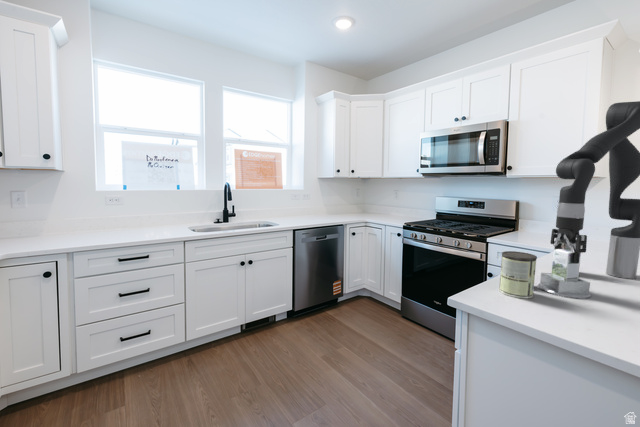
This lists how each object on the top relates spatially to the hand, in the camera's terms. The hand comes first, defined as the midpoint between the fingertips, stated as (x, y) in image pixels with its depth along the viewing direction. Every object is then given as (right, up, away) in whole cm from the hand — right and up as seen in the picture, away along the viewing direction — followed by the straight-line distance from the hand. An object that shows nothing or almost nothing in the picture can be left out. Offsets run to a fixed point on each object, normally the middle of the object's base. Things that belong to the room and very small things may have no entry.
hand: (565, 259), depth 109 cm
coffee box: (+20, -10, +24) cm, 32 cm away
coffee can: (-20, -12, -2) cm, 23 cm away
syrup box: (0, -11, +1) cm, 11 cm away
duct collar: (0, -11, +1) cm, 11 cm away
